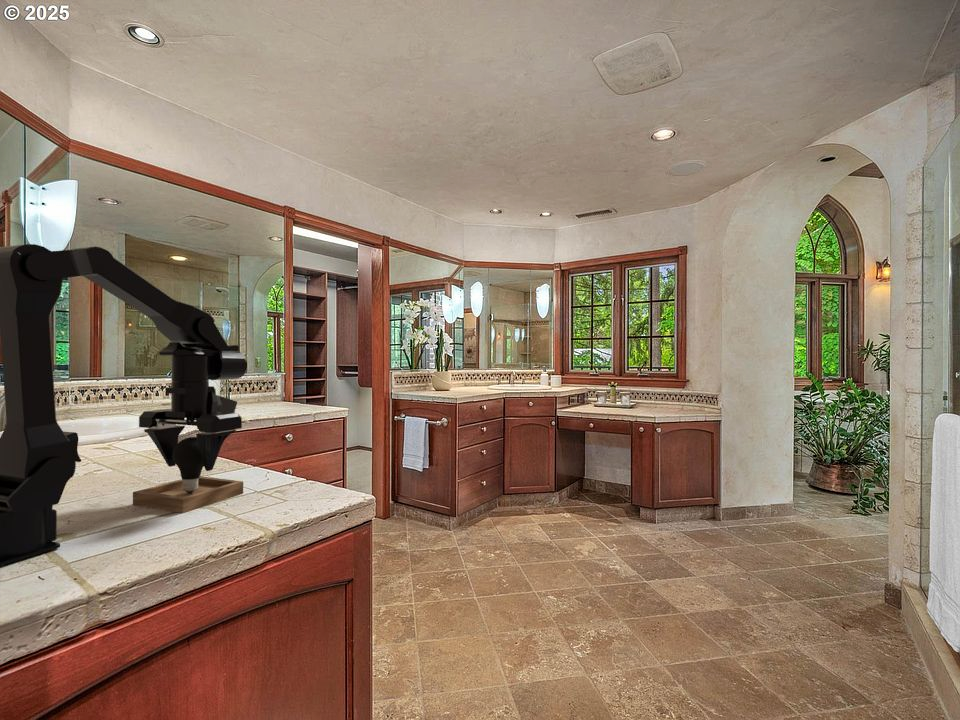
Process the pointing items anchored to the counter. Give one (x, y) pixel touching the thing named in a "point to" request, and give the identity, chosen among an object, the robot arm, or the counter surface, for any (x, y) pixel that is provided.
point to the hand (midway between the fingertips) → (190, 468)
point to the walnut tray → (187, 494)
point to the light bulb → (188, 462)
